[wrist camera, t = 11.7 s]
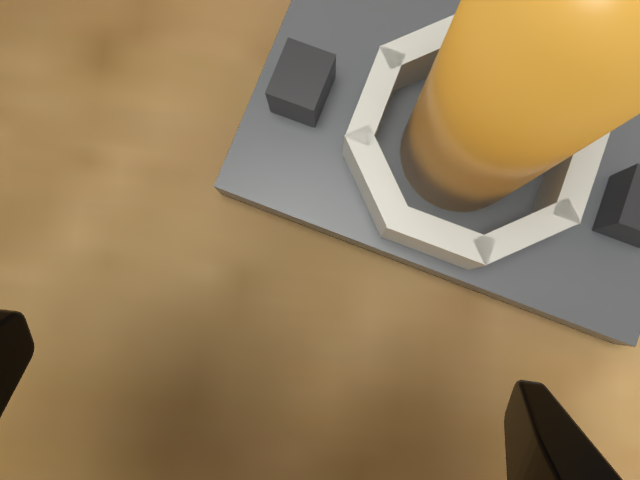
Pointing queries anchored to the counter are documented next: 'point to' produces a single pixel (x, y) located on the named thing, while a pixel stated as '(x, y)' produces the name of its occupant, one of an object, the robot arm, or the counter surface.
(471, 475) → the counter surface
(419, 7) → the ball rail dock
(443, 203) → the cap
